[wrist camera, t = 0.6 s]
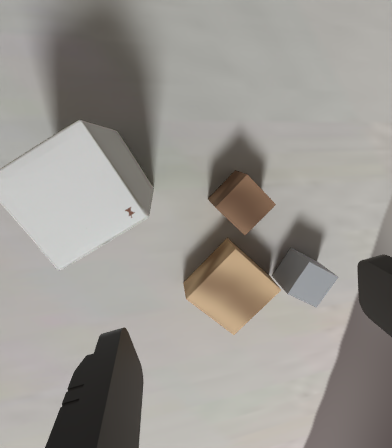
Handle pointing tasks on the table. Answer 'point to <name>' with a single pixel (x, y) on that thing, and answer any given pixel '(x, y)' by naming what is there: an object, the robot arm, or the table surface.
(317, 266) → the grey painted cube
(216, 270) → the oak base block
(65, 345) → the table surface
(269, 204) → the walnut cube
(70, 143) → the supplement box
